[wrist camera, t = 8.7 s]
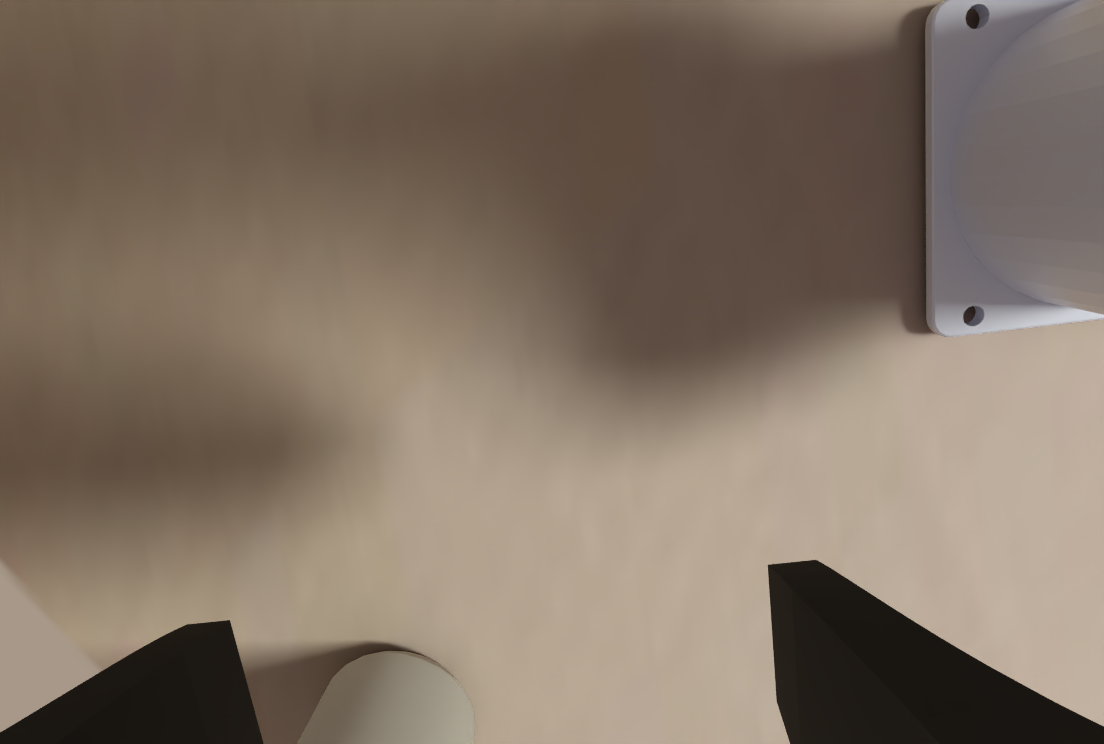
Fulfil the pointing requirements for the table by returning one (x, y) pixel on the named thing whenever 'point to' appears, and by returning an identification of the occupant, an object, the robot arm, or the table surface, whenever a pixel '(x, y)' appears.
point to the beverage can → (392, 704)
